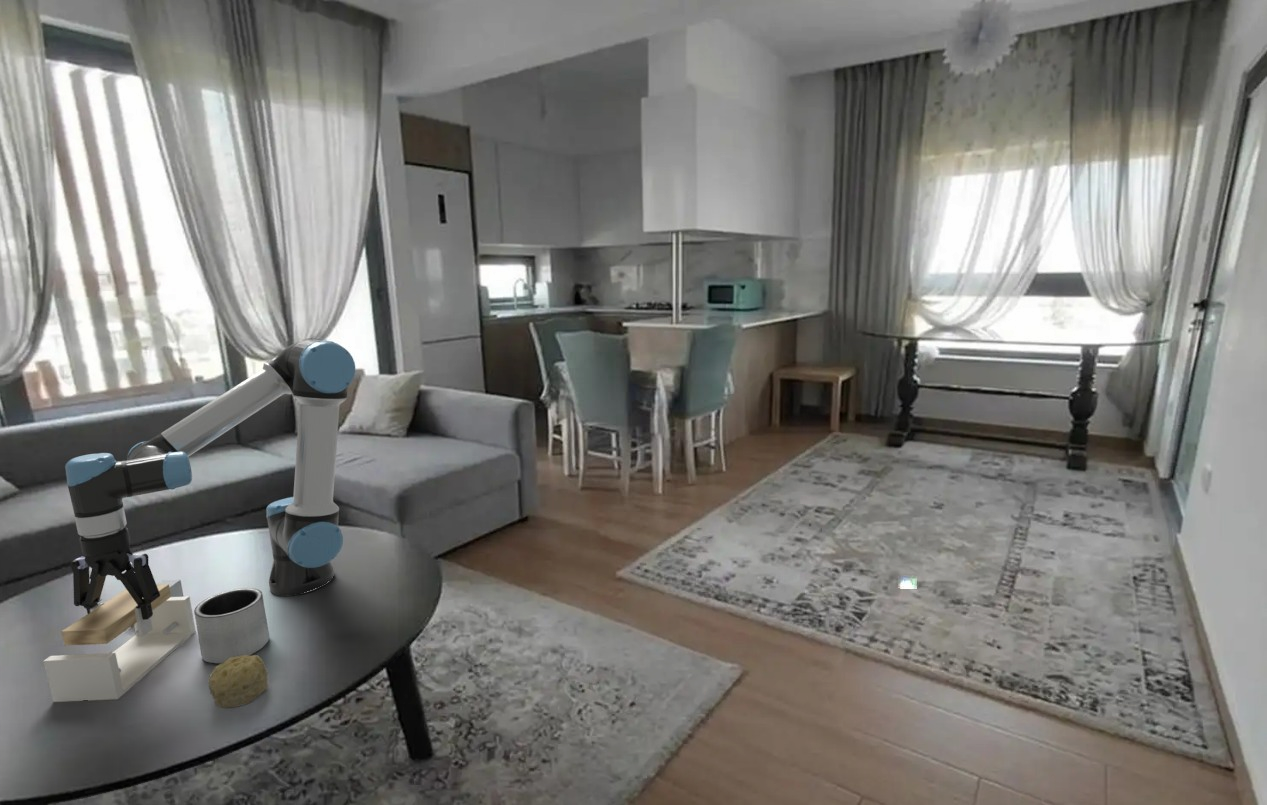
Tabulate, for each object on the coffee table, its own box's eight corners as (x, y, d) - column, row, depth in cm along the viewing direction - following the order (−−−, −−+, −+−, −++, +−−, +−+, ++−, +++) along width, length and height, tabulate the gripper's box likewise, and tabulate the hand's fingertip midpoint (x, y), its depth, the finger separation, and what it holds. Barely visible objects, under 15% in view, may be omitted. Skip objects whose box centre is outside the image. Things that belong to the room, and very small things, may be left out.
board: (171, 596, 138) (168, 584, 137) (107, 643, 120) (104, 629, 119) (134, 598, 137) (131, 585, 137) (64, 645, 120) (61, 631, 119)
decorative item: (251, 695, 125) (213, 663, 123) (288, 666, 125) (250, 633, 123) (226, 729, 116) (184, 695, 114) (265, 698, 116) (224, 663, 113)
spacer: (183, 597, 158) (180, 579, 157) (149, 623, 146) (146, 604, 145) (166, 598, 158) (162, 580, 157) (130, 624, 146) (126, 605, 145)
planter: (197, 673, 127) (188, 623, 125) (206, 642, 138) (198, 596, 136) (268, 655, 133) (261, 607, 130) (271, 626, 144) (264, 582, 141)
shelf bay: (195, 631, 142) (189, 596, 141) (117, 699, 120) (108, 657, 118) (141, 633, 142) (134, 598, 140) (53, 702, 119) (43, 660, 117)
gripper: (169, 521, 129) (187, 621, 133) (65, 525, 128) (87, 626, 133) (143, 536, 121) (163, 641, 126) (32, 540, 121) (57, 646, 125)
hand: (124, 633), depth 129 cm, fingers closed on board, 8 cm apart
